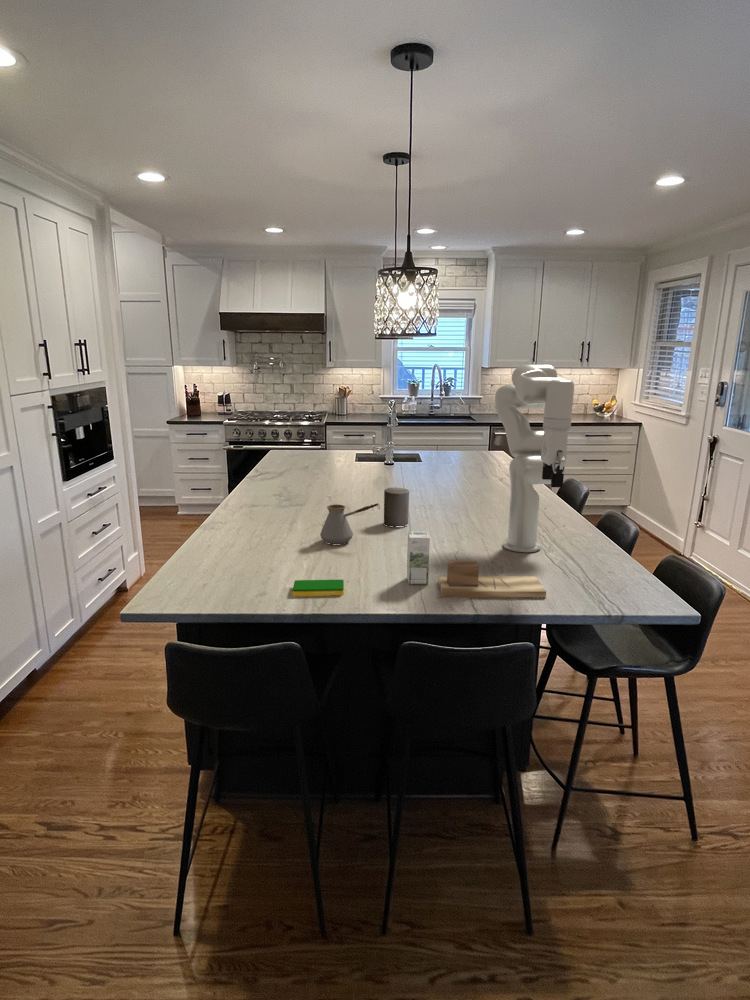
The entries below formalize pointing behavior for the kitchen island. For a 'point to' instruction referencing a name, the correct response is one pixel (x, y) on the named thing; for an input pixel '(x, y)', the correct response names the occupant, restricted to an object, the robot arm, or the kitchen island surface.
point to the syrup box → (418, 558)
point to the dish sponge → (318, 587)
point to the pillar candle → (396, 506)
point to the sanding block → (462, 573)
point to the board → (495, 587)
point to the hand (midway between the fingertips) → (551, 483)
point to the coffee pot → (339, 524)
